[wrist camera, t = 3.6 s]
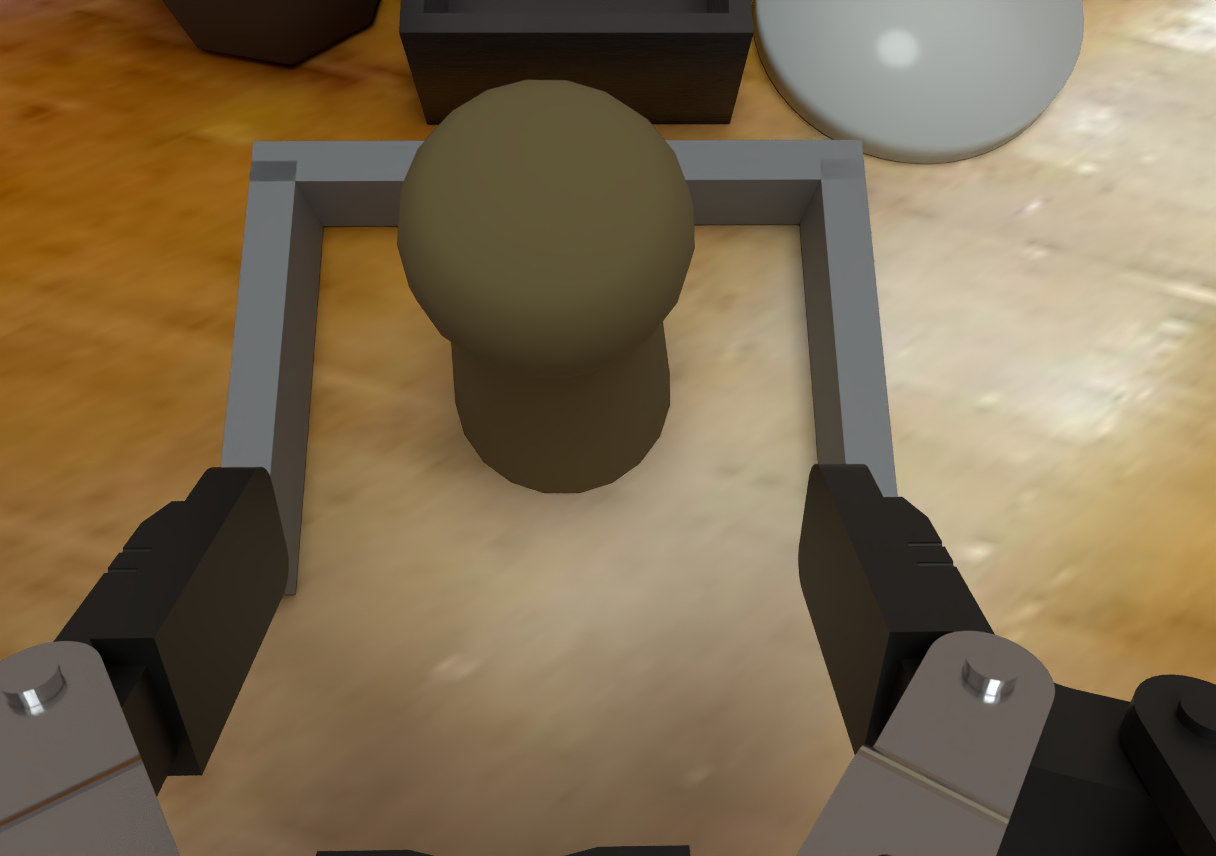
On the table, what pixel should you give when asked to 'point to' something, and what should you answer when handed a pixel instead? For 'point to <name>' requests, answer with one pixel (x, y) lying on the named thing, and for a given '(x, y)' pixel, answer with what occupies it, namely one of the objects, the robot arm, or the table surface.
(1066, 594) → the table surface
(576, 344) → the cork
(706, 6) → the open storage bin
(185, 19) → the beer bottle
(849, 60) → the saucer
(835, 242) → the grey u-shaped frame
